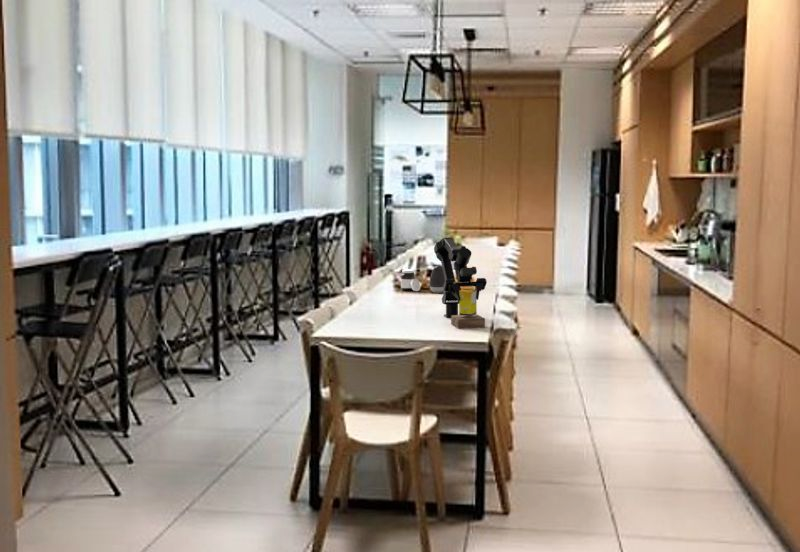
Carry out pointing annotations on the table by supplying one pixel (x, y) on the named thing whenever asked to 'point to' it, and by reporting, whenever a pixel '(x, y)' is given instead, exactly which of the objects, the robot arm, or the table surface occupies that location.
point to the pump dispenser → (437, 280)
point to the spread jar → (409, 281)
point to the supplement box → (467, 302)
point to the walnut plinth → (467, 321)
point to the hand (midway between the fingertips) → (468, 299)
